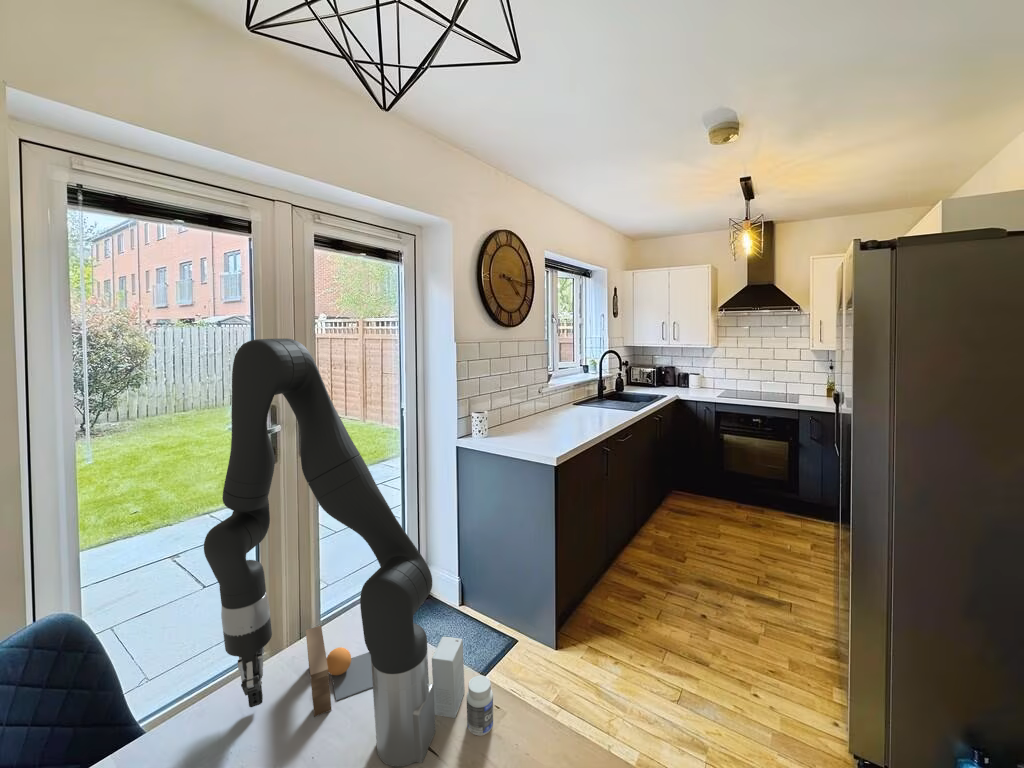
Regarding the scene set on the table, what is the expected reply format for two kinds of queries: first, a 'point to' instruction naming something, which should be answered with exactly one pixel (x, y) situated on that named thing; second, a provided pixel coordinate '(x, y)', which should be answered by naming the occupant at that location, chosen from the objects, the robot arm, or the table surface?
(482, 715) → the pill bottle
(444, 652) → the skincare box
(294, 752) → the table surface
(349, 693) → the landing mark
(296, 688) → the table surface
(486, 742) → the table surface
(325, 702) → the bridge
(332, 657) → the ball
